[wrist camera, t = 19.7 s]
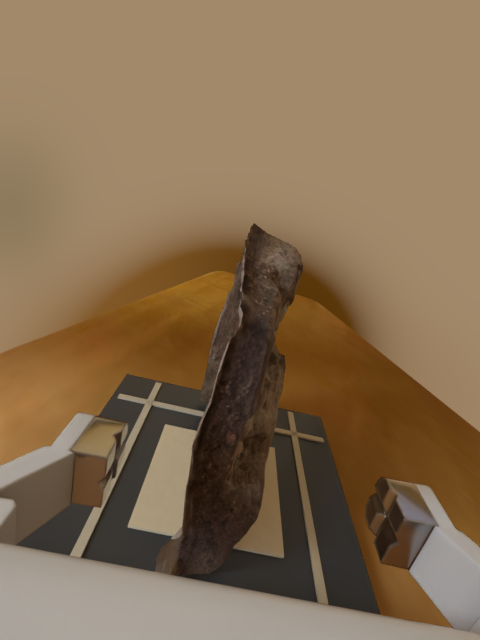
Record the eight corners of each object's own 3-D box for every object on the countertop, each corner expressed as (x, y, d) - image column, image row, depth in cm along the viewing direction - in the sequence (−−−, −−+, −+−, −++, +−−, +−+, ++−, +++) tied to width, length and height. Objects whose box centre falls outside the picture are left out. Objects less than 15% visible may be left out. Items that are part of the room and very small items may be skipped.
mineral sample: (199, 395, 30) (241, 219, 25) (244, 406, 31) (295, 233, 25) (139, 617, 15) (218, 268, 9) (233, 636, 15) (363, 305, 10)
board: (-56, 670, 13) (-59, 643, 13) (124, 388, 32) (127, 371, 31) (400, 749, 14) (418, 728, 14) (315, 430, 33) (321, 415, 32)
